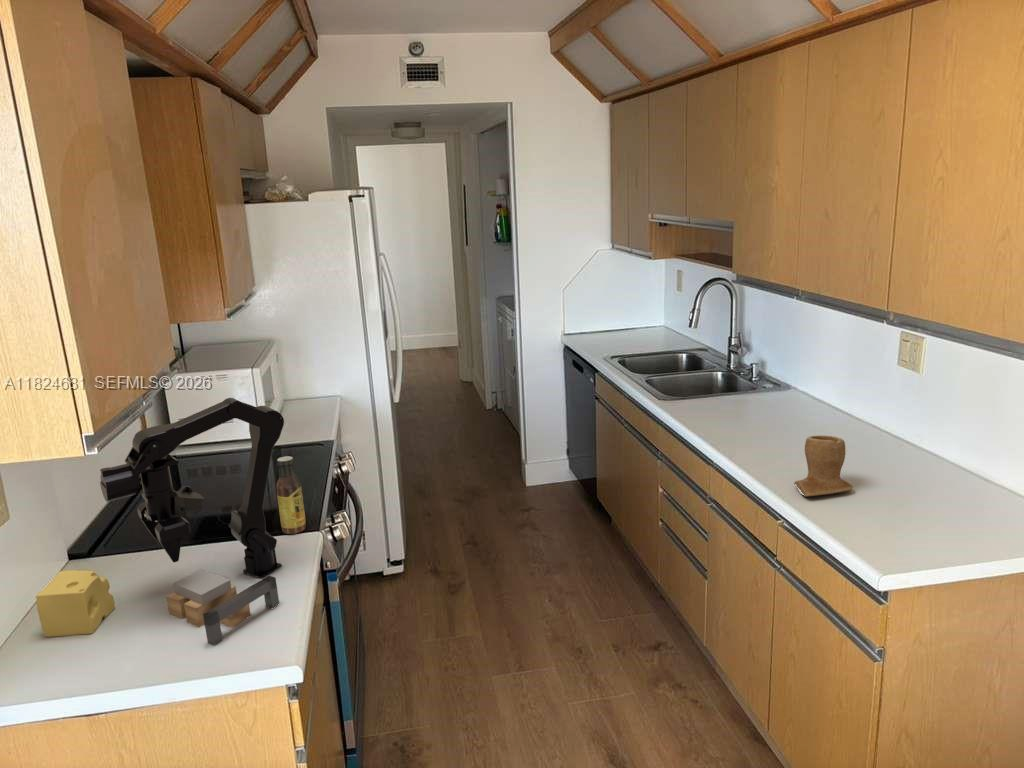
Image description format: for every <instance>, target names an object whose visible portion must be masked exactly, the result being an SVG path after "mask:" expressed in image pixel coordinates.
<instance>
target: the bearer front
mask: <svg viewBox="0 0 1024 768" xmlns="http://www.w3.org/2000/svg"><path fill="white" fill-rule="evenodd" d="M231 589H232V590H231V591H229V592H227V593H225V594H223V595H222V596H220V597H218V598H216V599H214V600H212V601H210V602H208V603H207V604H205V605H201V604H199V603H197V602H194V601H192V600H190V601H188V602H186V603H185V604H184V608H185V613H186V617H185V618H186V623H188V624H190V625H192V626H195V627H198V628H201V627H202V626H205V623H204V618H203V614H204V613H206V612H208V611H209V610H211V609H213V608H214V607H216V606H218V605H220V604H221V603H223V602H225V601H226V600H228V599H230V598H231V597H233V596H235V595H237V594H238V593H237V587H236V585H234V584H231Z"/></svg>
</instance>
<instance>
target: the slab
mask: <svg viewBox="0 0 1024 768" xmlns="http://www.w3.org/2000/svg"><path fill="white" fill-rule="evenodd" d="M172 585H173V589H174V590H173V592H175V593H176V594H178V595H180V596H183V597H185V598H187V599H190V600H192V601H194V602H197V603H199V604H201V605H205V604H207V603H208V602H210V601H212V600H214V599H216V598H218V597H220V596H222V595H223V594H225V593H227V592H229V591H231V590H232V589H231V585H232V584H231V580H230V579H228V578H226V577H223V576H221V575H219V574H215V573H213V572H210V571H207V570H205V569H202V568H201V569H199V570H196V571H195V572H192V573H191V574H189V575H187V576H185V577H182V578H180V579H177V580H176V581H175V582H173V583H172Z"/></svg>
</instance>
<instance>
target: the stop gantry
mask: <svg viewBox="0 0 1024 768" xmlns="http://www.w3.org/2000/svg"><path fill="white" fill-rule="evenodd" d="M276 579H277V578H276V577H275V576H271V575H266V576H265V577H263V578H261V580H259V581H257V582H255V583H254V584H252V585H250V586H248V587H247V588H245V589H244V590H242V591H240V592H238V593H237V595H235V596H233V597H231V598H230V599H228V600H226V601H225V602H223V603H221V604H220V605H218V606H216V607H214V608H213V609H211V610H209V611H208V612H206V613H204V614H203V618H204V623H205V624H204V629H205V634H206V640H207V643H208V644H209V645H212V646H214V647H215V646H216V645H218V644H220V643H221V642H223V641H224V640H223V635H222V634H223V633H222V628H221V623H220V621H221V620H223V619H225V618H226V617H228V616H229V615H231V614H233V613H234V612H236V611H238V610H239V609H241V608H243V607H244V606H246V605H248V604H249V605H250V604H251V603H253V602H254V601H255V600H258V599H259V598H261V597H262V596H264V603H265V607H266V608H268V607H269V608H268V609H271V608H273V609H274V607H275V606H276V605H278V604H279V605H280V599H279V593H278V592H279V591H278V584H277V580H276ZM279 605H278V606H279ZM276 607H277V606H276ZM276 607H275V608H276Z"/></svg>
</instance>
